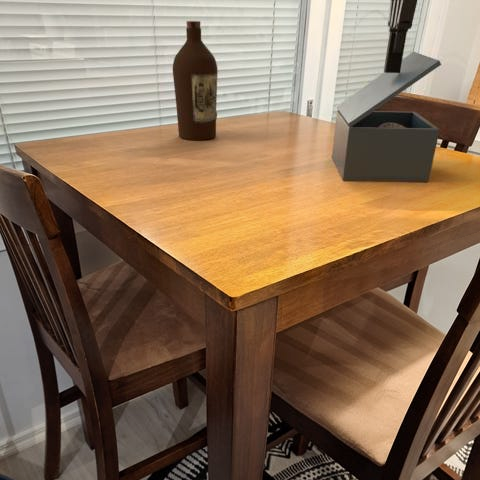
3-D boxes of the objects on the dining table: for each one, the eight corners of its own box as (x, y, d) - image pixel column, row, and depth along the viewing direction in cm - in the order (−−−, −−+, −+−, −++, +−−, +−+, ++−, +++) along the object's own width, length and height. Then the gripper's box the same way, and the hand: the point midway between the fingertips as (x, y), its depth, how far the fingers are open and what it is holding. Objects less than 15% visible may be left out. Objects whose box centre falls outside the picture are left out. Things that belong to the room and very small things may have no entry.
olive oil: (168, 134, 126) (161, 20, 113) (202, 129, 132) (199, 19, 118) (191, 143, 119) (186, 22, 106) (226, 137, 125) (226, 21, 111)
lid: (415, 55, 99) (413, 51, 98) (441, 64, 85) (439, 60, 85) (337, 109, 105) (336, 106, 104) (350, 127, 91) (348, 123, 91)
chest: (406, 158, 110) (415, 111, 105) (428, 182, 96) (440, 129, 91) (331, 157, 110) (336, 110, 105) (342, 180, 96) (349, 127, 91)
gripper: (385, -84, 86) (365, 67, 99) (404, -96, 75) (378, 76, 88) (429, -84, 86) (403, 68, 99) (454, -96, 75) (421, 77, 88)
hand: (391, 72), depth 93 cm, fingers closed
